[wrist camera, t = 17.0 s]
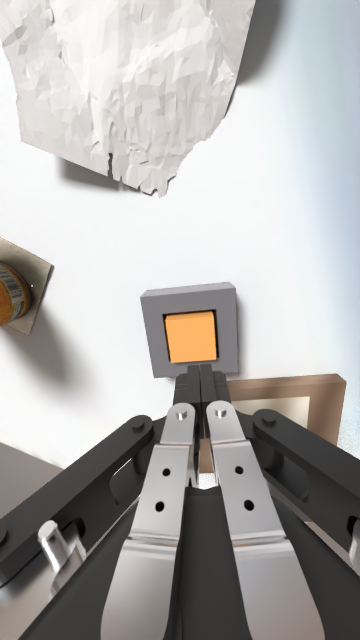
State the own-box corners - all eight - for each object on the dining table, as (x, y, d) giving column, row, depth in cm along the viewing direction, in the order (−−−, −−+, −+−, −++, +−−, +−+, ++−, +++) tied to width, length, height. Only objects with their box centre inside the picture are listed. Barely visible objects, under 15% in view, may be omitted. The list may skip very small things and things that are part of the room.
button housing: (229, 281, 21) (235, 287, 18) (232, 356, 23) (238, 372, 21) (146, 290, 21) (140, 297, 19) (158, 362, 24) (154, 378, 21)
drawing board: (337, 373, 23) (347, 382, 22) (325, 456, 27) (333, 469, 26) (188, 383, 25) (188, 392, 23) (197, 462, 28) (197, 474, 27)
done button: (210, 305, 21) (213, 316, 18) (212, 343, 22) (216, 359, 19) (169, 309, 21) (165, 320, 18) (173, 346, 23) (171, 362, 20)
